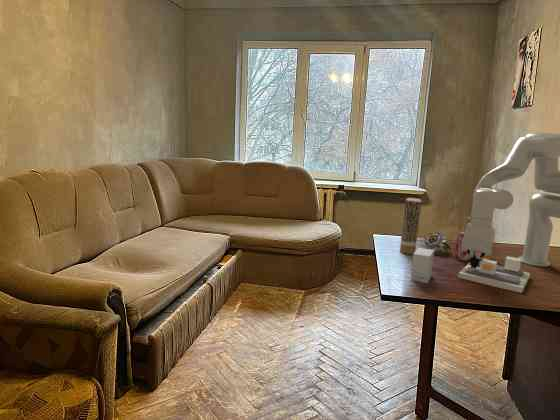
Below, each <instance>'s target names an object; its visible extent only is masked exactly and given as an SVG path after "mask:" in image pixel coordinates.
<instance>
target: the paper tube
mask: <svg viewBox="0 0 560 420" xmlns="http://www.w3.org/2000/svg"><path fill="white" fill-rule="evenodd" d="M422 201H423V200H422V199H421V198H415V197H408V198H406V199H405V205H404V214H403V215H404V216H403V221H402V230H401V236H400V237H401V238H400V246H399V248H400V249H399V251H400V253H402V254H405V255H413V254H414V253H415V251H416V250H417V249H416V248H417V241H418V233H419V225H420V217H421V209H422Z"/></svg>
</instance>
